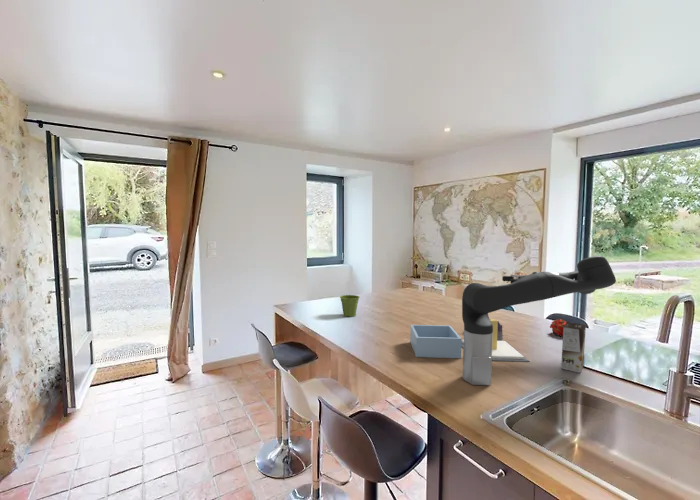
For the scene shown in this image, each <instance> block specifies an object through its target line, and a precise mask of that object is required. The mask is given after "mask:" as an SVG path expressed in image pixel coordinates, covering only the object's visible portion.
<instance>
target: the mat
mask: <svg viewBox="0 0 700 500" xmlns="http://www.w3.org/2000/svg"><path fill="white" fill-rule="evenodd" d="M508 344H509V343H508ZM509 345H510V346H512V345H511V344H509ZM463 347H464V344H463V342H462V345H461V349H463ZM514 349H515V350H516V351H518V350H517V349H516V348H514ZM519 353H520V354H521V355H522V356H524V355H523V354H522V353H521V352H519ZM492 362H517V363H518V362H524V363H529V362H530V360H529V359H528V358H526V357H525V356H524V359H494V358H492Z"/></svg>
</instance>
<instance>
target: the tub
mask: <svg viewBox="0 0 700 500" xmlns="http://www.w3.org/2000/svg"><path fill="white" fill-rule="evenodd" d="M409 332H410V336H409V337H410V340H409V341H410V345H411V347H412V350H413V352H414V355H415V357H416V358H440V359H441V358H442V359H444V358H445V359H446V358H447V359H462V346H461V345H462V340H463V339H462V337H461V336H460V335H459V334H458V333H457V331H456V330H455V329H454V328H453V327H452V325H442V324H441V325H439V324H438V325H436V324H410V331H409Z"/></svg>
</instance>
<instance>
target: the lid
mask: <svg viewBox="0 0 700 500" xmlns="http://www.w3.org/2000/svg"><path fill="white" fill-rule="evenodd" d="M489 319H490V321H491V322H492V324H493V339H492V358H494V359H524V357H525V356H524V355H523V354H522V353H521V352H519V350H517V349H516V348H515V347H513V346H512V345H511V344H510V345H511V346H510V345H509V343H508V342H507V341H505V340H502V341H497V330H498V321H499V320H497V319H496V318H489ZM462 342H463V344H464V339H462ZM515 349H516V350H517V351H516V350H515ZM520 353H521V354H522V355H523V356H522V355H521V354H520Z"/></svg>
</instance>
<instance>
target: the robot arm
mask: <svg viewBox="0 0 700 500" xmlns="http://www.w3.org/2000/svg"><path fill="white" fill-rule="evenodd" d="M576 267H577V268H576V269H577V270H573V271H569V272H553V271H533V272H532V273H531V274H527V275H523V274H521V275H520V274H517V275H515V274H511V275H503V276H502V278H501V279H502V281H503V282H510V283H508V284H502V285H495V286H493V285H492V286H489V285H487V284H486V285H485V284H483V283H479V282H472V283H471V282H470V283H469V284H468V285H466V286H465V288H464V290H463V292H462V298H461V318H462V322H463V340H464V347H463V348H462V349H463V350H462V351H463V352H462V355H463V356H462V379H463V381H465V382H467V383H469V384H471V385H473V386H491V382H492V364H493V363H492V362H493V361H492V339H493V324H492V322H491V321H490V319H491V318H490V317H489V313H493V312H497V311H500V310H502V309H505V308H508V307H511V306H517V305H522V304H528V303H533V302H538V301H539V302H540V301H544V300H549V299H552V298H556V297H557V298H558V297H561V296H565V295H570V294H574V293H580V294H582V295H588V294H592V293H595V291H596V290H601V289H605V288H609V287H612V286H614V285H615V284H616V282H617V279H616V276H615V273H614V270H612V269H613V268H612V266H611V265H610V263H609V261H608V260H607V258H606V257H605V256H603V255H593V256H590V257H589V256H588V257H586V258H583V259H581V260H580V261H578V263H577V264H576Z"/></svg>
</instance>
